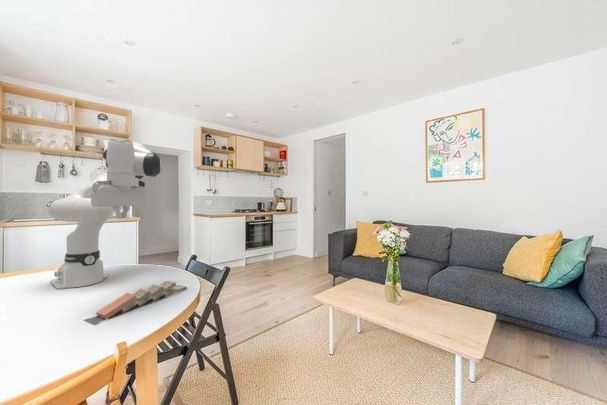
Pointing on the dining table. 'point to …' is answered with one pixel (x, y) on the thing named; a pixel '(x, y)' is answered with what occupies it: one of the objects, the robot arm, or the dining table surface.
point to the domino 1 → (140, 296)
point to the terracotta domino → (116, 306)
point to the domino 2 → (154, 291)
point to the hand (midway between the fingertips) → (121, 218)
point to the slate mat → (118, 313)
